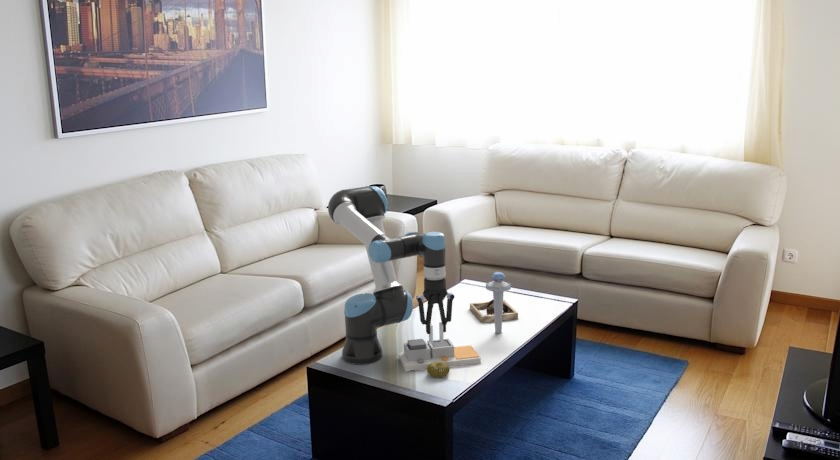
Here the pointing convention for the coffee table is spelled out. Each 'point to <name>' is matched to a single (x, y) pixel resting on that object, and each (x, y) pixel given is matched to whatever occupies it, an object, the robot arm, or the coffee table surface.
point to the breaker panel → (438, 356)
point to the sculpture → (438, 369)
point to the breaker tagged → (440, 344)
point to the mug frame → (489, 318)
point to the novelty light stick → (498, 297)
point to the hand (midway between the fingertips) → (436, 341)
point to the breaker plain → (416, 344)
